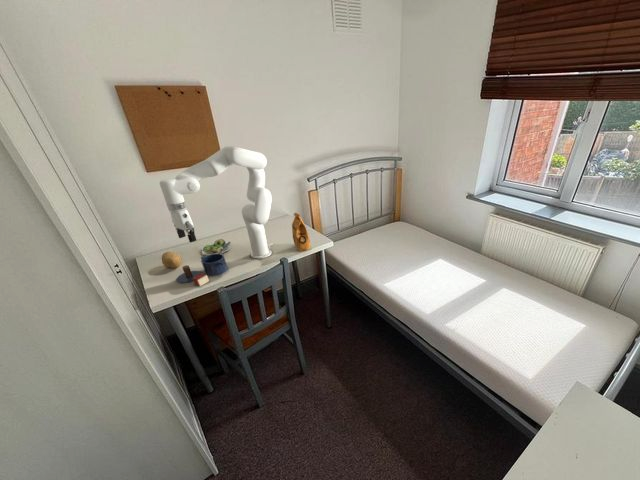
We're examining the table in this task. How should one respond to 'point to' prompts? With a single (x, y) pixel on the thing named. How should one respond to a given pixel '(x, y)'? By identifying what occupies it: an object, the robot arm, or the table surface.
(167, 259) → the potato
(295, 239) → the coffee package
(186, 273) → the lid
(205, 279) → the meat
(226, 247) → the salad plate
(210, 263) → the pot
